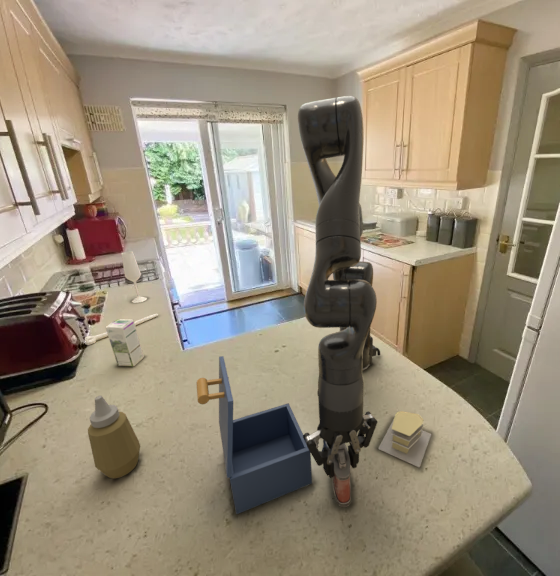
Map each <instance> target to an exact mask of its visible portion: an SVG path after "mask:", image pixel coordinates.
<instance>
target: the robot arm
mask: <svg viewBox="0 0 560 576" xmlns="http://www.w3.org/2000/svg"><path fill="white" fill-rule="evenodd" d="M297 126H298V133H299V138H300V142H301V145H302V149H303V152H304V156H305V159H306V162H307V163H306V164H307V166H308V169H309V172H310V176H311V178H312V183H313V185H314V189H315V193H316V198H317V204H318V208H317V211H316V215H315V222H314V223H315V228H314V229H315V253H314V255H315V256H314V262H313V266H312V267H313V268H312V271H311V275H310V279H309V282H308V285H307V288H306V292H305V296H304V299H303V314H304V317H305V319H306V320H307V322H308V323H309V324H310V325H311V326H312V327H314V328H318V329H332V328H333V329H336V328H337V329H339V331H336V332H331V333H329V334H327V335H325V336H323V337H322V338H321V339H320V340H319V343H318V347H317V360H318V378H317V392H316V393H317V398H318V421H319V424H318V425H317V428H316V431H314V432H313V433H311V434H310V433H309V432H304V433H303V438H304V441H305V443H306V445H307V447H308V449H309V451H310V453H311V457H312V458H313V460H314V462H315V463H316V466H319V467H320V466H322V469H323V471H324V473H325V475H326V476H327V477H328V476H329V478H330V479H332V477H334V462H333V460H334V456H335V454H337V452H338V449H339V446H340V445H342V444H343V443H345V444H347V443H348V445H347V450H348V453H349V457H350V467H351V468H352V469H356V468H357V467H358V464H359V462H360V452H362V448H364V449H366V448H368V447H369V446H370V444H371V442H372V439H373V436H374V433H375V430H376V428H377V425H378V420H377V419H376V417H375V416H374V414H373V413H372V412H371V411H370V410H369V411H366V412H365V413H364V395H365V394H364V393H365V391H364V388H365V387H364V386H365V385H364V384H365V383H364V375H363V372H364V371H367V369H369V367H370V366H372V365H373V357H377V356H378V357H380V356H381V349H379V347H376V346H375V345H374V337H372V335H371V325H372V323H373V320H374V317H375V314H376V310H377V302H378V301H377V294H376V290H375V289H374V286H373V284H374V266H373V265H372V263H371V262H369V261H361V258H362V242H361V238H362V236H363V232H364V219H363V210H362V205H361V203H360V202H361V201H360V200H361V198H360V197H361V188H362V178H363V162H364V143H365V142H364V140H365V137H364V135H365V133H364V132H365V131H364V116H363V111H362V106H361V103H360V100H358V98H357V97H356V96H354V95H342V96H336V97H332V98H325V99H320V100H319V99H318V100H314V101H308V102H306V103H305V102H304V103H303V104H301V105H300V106H299V108H298V112H297ZM339 157H343V160H342V164H341V166H340V168H339V171H338V172H337V174H335V173H334V171H333V170H332V168H331V166H330V165H329V163H328V160H327V159H332V158H339ZM331 276H332V279H329V278H330V277H331ZM320 439H322V443H323V445H322V449H321V450H320V451H319V447H320V446H319V444H320Z"/></svg>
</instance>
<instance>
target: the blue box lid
mask: <svg viewBox="0 0 560 576" xmlns="http://www.w3.org/2000/svg"><path fill="white" fill-rule="evenodd" d="M214 385H215V386H216V385H218V392H213V393H210V391H209V386H214ZM196 394H197V395H196V396H197V402H198V404H199V405H205V404H208V402H209V401H211V400H218V426H219V432H220V440H221V448H222V454H223V459H224V467H225V468H224V469H225V474H226V478H227V479H230V477H232V445H233V420H234V398H233V393H232V389H231V385H230V380H229V375H228V371H227V367H226V362H225V356H224V355H222V356H218V378H214V379H207V378H205V377H200V378H198V379H197V380H196Z"/></svg>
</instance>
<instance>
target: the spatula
mask: <svg viewBox="0 0 560 576" xmlns="http://www.w3.org/2000/svg"><path fill="white" fill-rule="evenodd" d="M158 316H159V314H158V313H153V314H150V315H148V316H145V317H143V318H140V319H137V320H134V323H135V327H136V326H137V325H140V324H143V323H146V322H147V321H150V320H152V319H154V318H156V317H158ZM107 337H108V334H107V331H105V332H102V333H99V334H96V335H88V336H85V337H84V339H85V341H86V343H85V344H84V345H86V346H91V345H94V344H95V343H96V342H97V341H99V340H101V339H104V338H107Z"/></svg>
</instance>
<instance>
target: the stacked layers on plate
mask: <svg viewBox="0 0 560 576" xmlns="http://www.w3.org/2000/svg"><path fill="white" fill-rule="evenodd" d="M423 427H424V419H423V417H422V416H421V415H420V414H418V413H413V412H409V411H401V410H400V411H397V412H396V413H395V415H394V418H393V420H392V421H391V423H390V425H389V427H388V429H387V431H386V433H385V435H384V437H383V438H382V440H381V443H380V444H379V446H378V448H377V449H378V450H379V451H382V452H384V453H386V454H388V455H391V456H393V457H395V458H396V459H399V460H401V461H403V462H405V463H408V464H410V465H413V466H414V467H416V468H419V469H420V467H421V465H422V461H423V460H424V456H425V455H426V454H425V453H426V451H427V448H428V445H429V442H430V440H431V437H432V433H430V432H428V431H425V430H423Z"/></svg>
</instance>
